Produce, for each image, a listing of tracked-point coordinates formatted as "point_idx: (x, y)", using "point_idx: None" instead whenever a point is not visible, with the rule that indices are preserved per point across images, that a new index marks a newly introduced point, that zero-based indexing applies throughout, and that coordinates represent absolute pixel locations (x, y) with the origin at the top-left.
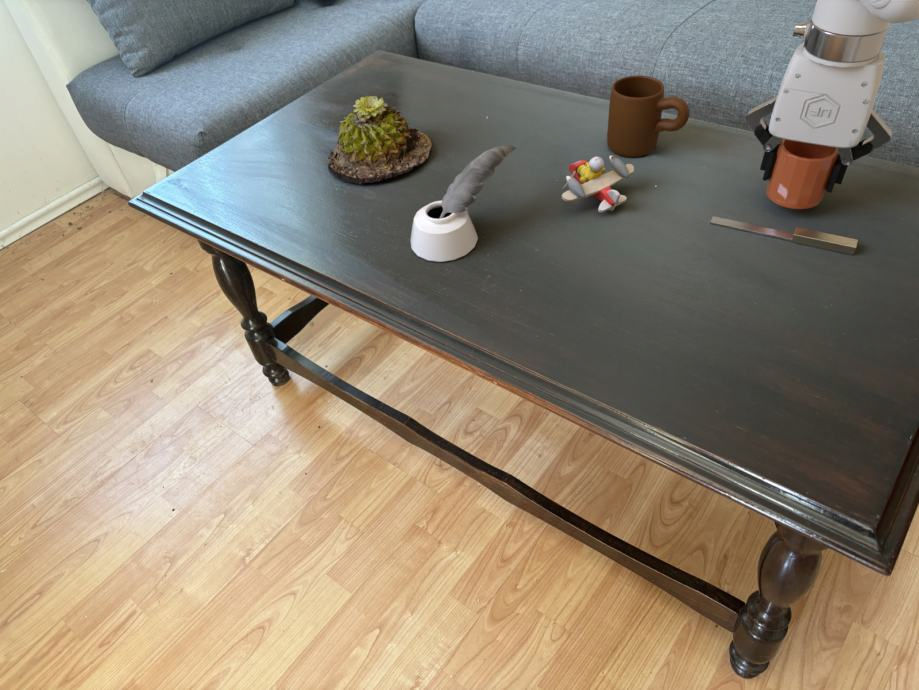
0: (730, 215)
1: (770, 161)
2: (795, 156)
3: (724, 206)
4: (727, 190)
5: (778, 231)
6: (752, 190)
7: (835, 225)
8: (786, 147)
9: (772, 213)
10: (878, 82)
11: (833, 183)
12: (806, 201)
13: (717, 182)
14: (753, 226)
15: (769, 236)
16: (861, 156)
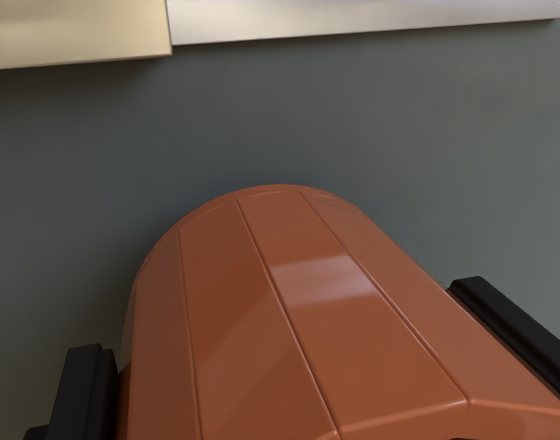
0: (484, 79)
1: (558, 359)
2: (504, 421)
3: (515, 138)
4: (513, 255)
5: (250, 25)
6: None
7: (10, 231)
8: None
9: (313, 185)
10: None
11: (65, 393)
12: (189, 235)
13: (553, 286)
14: (377, 12)
15: None
16: None
